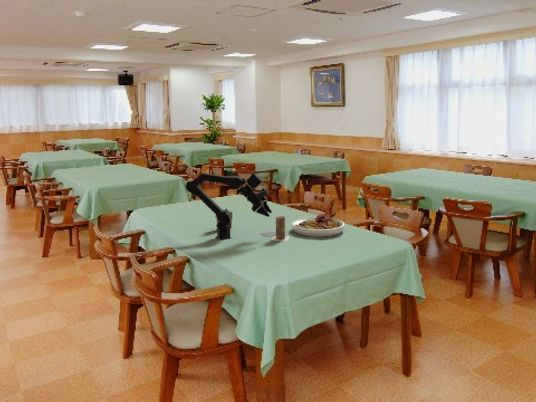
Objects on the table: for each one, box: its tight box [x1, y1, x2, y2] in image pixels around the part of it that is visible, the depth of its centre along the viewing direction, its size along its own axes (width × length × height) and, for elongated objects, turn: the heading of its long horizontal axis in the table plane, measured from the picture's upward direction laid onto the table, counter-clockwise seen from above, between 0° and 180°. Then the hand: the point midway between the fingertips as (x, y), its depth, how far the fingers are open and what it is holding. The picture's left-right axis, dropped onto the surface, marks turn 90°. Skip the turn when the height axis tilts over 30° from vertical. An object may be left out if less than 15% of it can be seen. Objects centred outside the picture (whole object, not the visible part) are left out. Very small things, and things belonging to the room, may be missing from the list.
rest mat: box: [259, 231, 276, 238], centre depth 278 cm, size 9×9×1 cm
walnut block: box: [275, 215, 286, 240], centre depth 268 cm, size 5×5×12 cm
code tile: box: [271, 235, 290, 242], centre depth 269 cm, size 9×9×1 cm
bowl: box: [291, 213, 345, 238], centre depth 284 cm, size 30×30×8 cm
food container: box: [214, 211, 234, 230], centre depth 292 cm, size 12×6×10 cm, turn 141°
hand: (270, 214), depth 267 cm, fingers open, 9 cm apart
